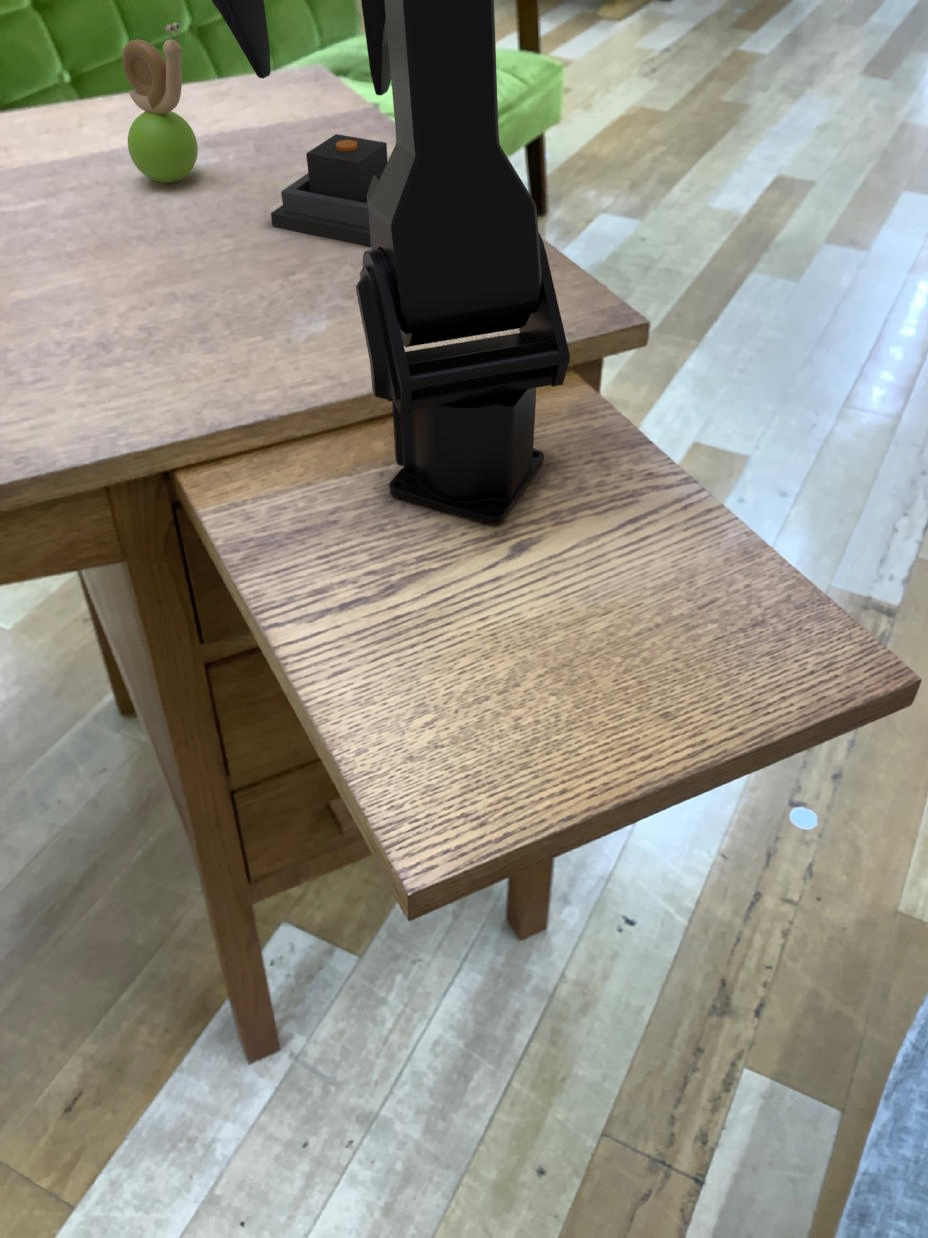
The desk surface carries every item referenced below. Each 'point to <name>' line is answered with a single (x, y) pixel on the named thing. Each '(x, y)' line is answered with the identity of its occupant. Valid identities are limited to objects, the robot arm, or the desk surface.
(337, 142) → the pad block
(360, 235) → the base pad
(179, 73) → the snail figurine
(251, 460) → the desk surface
